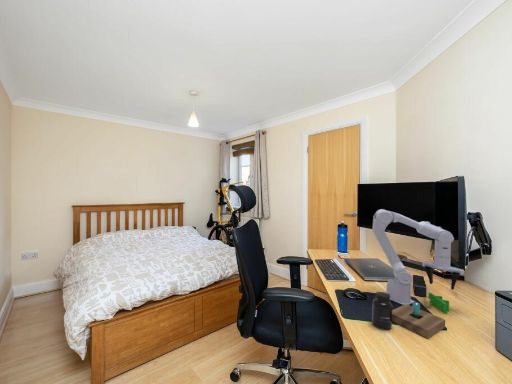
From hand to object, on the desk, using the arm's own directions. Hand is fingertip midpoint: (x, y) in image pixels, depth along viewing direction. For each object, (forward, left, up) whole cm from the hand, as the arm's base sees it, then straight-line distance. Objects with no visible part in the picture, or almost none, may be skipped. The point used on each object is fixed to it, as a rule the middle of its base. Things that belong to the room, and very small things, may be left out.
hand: (441, 286), depth 105 cm
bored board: (+1, -25, -9) cm, 27 cm away
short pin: (-3, -6, -9) cm, 12 cm away
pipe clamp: (0, -2, -10) cm, 10 cm away
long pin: (+1, -25, -9) cm, 27 cm away
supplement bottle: (-5, -38, -10) cm, 40 cm away
